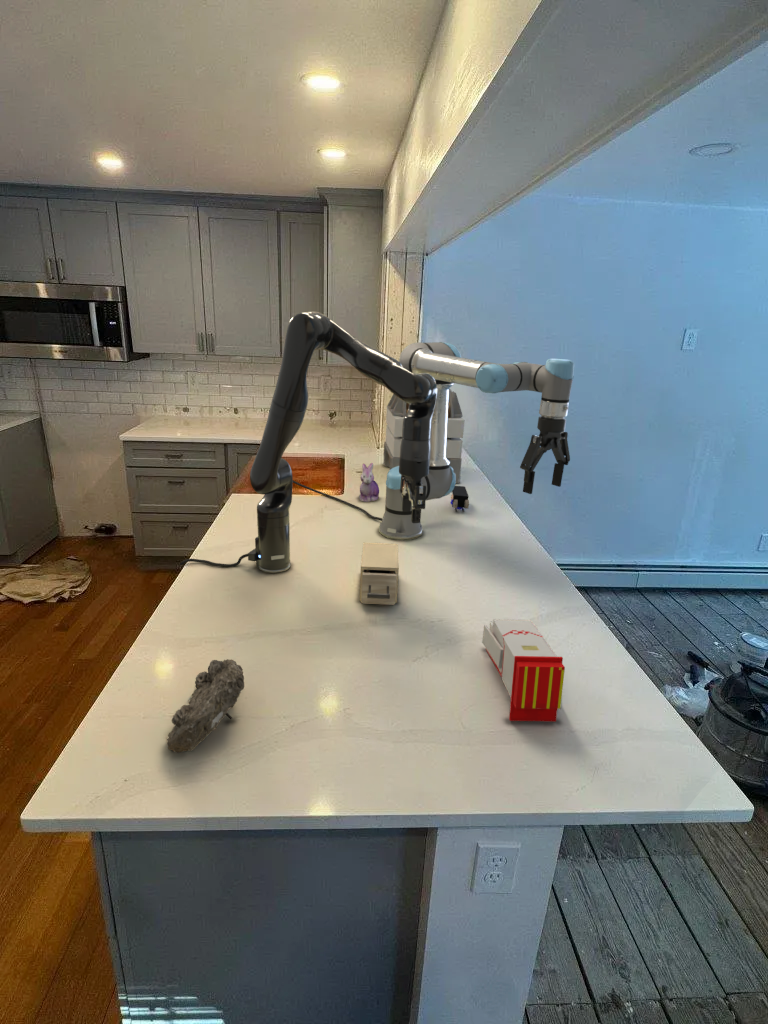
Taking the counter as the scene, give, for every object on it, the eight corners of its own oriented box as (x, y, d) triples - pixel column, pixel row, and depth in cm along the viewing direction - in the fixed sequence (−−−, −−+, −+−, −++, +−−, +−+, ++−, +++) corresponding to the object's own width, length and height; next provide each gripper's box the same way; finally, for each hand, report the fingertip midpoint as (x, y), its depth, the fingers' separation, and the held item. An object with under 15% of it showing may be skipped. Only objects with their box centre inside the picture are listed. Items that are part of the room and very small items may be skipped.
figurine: (363, 503, 228) (365, 467, 223) (353, 496, 237) (354, 461, 232) (384, 501, 233) (386, 465, 227) (373, 493, 241) (374, 459, 236)
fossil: (192, 660, 117) (244, 628, 112) (224, 691, 120) (276, 661, 115) (142, 746, 98) (202, 712, 93) (182, 779, 101) (242, 748, 96)
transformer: (382, 463, 289) (386, 382, 275) (445, 464, 293) (451, 384, 279) (390, 482, 257) (394, 392, 243) (460, 483, 261) (468, 394, 247)
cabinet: (396, 603, 153) (398, 568, 149) (359, 601, 153) (360, 566, 149) (396, 576, 168) (397, 543, 165) (362, 574, 168) (363, 542, 165)
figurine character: (469, 517, 223) (463, 501, 236) (471, 500, 219) (465, 484, 233) (452, 516, 222) (447, 500, 236) (454, 499, 219) (449, 483, 232)
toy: (529, 604, 135) (573, 663, 106) (524, 656, 138) (566, 727, 109) (478, 603, 135) (509, 662, 105) (474, 655, 137) (503, 727, 108)
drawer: (395, 616, 145) (396, 586, 142) (360, 614, 145) (361, 584, 142) (394, 579, 164) (395, 552, 161) (363, 577, 164) (364, 551, 161)
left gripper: (392, 449, 147) (389, 508, 152) (408, 463, 134) (404, 527, 139) (420, 448, 148) (416, 507, 154) (438, 463, 135) (433, 526, 141)
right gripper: (535, 422, 148) (525, 499, 155) (589, 415, 163) (577, 485, 170) (513, 417, 153) (504, 492, 161) (567, 411, 168) (556, 479, 175)
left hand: (410, 516), depth 146 cm, fingers open, 8 cm apart
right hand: (542, 489), depth 165 cm, fingers open, 13 cm apart
